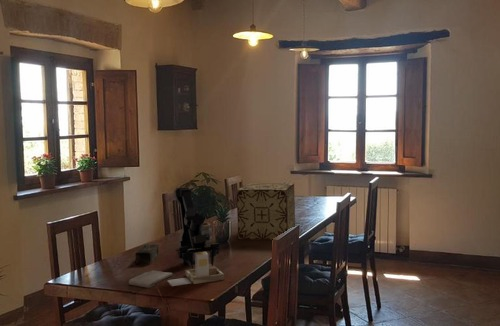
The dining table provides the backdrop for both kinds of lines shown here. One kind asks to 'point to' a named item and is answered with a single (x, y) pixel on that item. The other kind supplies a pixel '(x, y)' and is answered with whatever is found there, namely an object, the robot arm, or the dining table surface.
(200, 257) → the cream box
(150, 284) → the washcloth
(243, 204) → the decorative box
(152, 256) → the beverage carton
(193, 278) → the tray
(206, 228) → the tankard
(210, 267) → the walnut box
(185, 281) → the coaster
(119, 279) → the dining table surface
